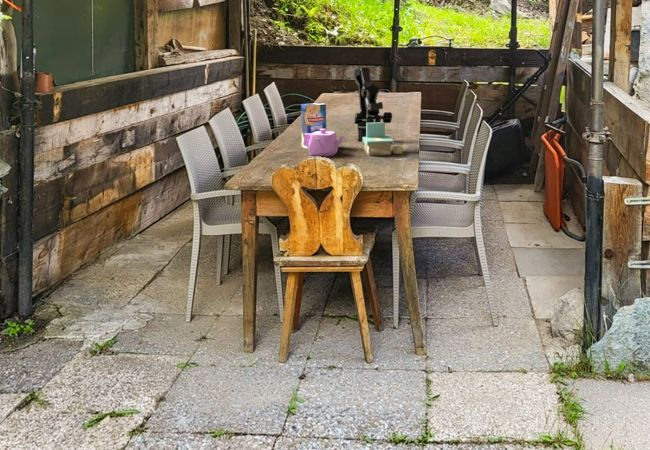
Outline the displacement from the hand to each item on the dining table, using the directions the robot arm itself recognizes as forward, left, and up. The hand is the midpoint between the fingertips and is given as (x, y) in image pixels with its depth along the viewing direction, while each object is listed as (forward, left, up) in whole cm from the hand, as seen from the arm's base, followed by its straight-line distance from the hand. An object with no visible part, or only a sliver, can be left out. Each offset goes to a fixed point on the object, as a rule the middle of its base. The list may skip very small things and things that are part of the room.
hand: (375, 131), depth 422 cm
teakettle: (-23, -13, -10) cm, 28 cm away
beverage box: (-33, +7, -10) cm, 35 cm away
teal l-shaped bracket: (+3, -7, -4) cm, 9 cm away
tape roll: (+12, -5, -10) cm, 16 cm away
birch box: (+2, -6, -10) cm, 12 cm away
